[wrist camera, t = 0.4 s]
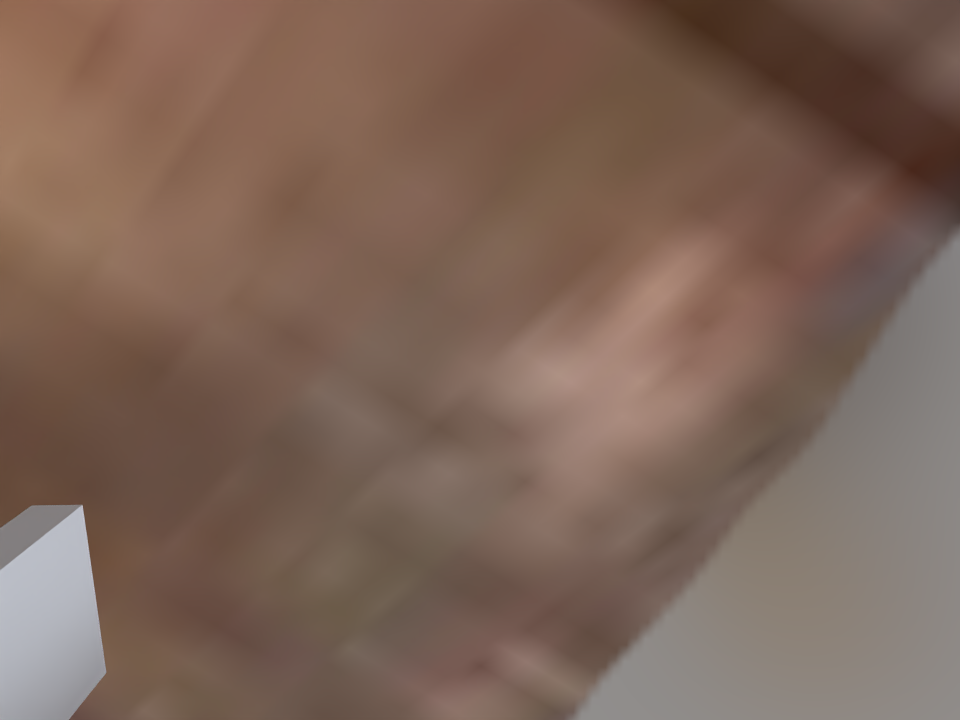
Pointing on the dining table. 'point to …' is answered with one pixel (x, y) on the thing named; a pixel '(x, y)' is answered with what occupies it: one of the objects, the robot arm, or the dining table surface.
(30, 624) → the robot arm
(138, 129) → the dining table surface
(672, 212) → the dining table surface
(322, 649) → the dining table surface
